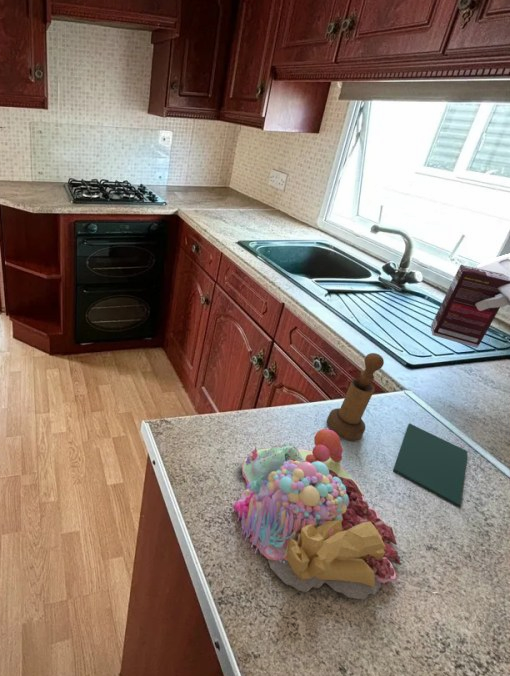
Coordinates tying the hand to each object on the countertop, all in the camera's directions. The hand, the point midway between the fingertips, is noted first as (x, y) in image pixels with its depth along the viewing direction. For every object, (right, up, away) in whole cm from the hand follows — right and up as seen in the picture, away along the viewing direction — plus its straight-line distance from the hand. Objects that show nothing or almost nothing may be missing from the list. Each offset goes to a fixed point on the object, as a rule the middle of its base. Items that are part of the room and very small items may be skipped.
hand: (469, 300), depth 86 cm
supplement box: (-1, -9, +4) cm, 10 cm away
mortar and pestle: (-30, -26, -5) cm, 40 cm away
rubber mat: (-16, -30, -11) cm, 36 cm away
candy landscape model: (-45, -33, -23) cm, 60 cm away
